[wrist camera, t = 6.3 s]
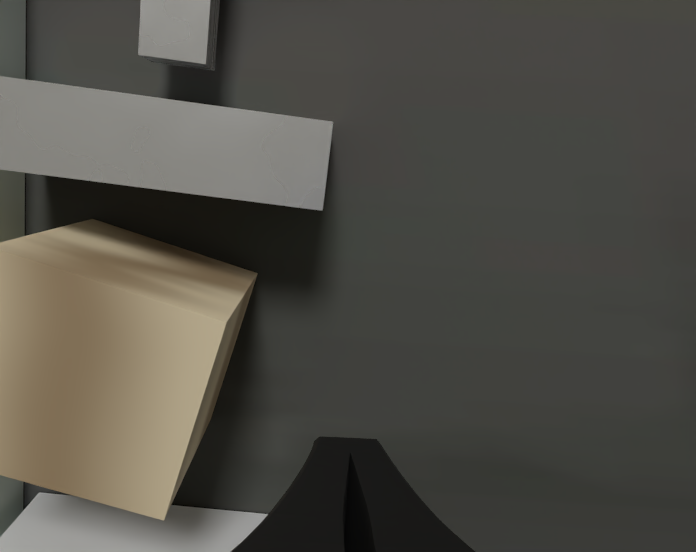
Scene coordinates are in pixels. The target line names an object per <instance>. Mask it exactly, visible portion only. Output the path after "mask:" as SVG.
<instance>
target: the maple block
mask: <svg viewBox="0 0 696 552" xmlns="http://www.w3.org/2000/svg"><path fill="white" fill-rule="evenodd" d="M257 274H258V273H255V272H252V271H249V270H246V269H243V268H240V267H237V266H234V265H231V264H228V263H225V262H222V261H219V260H216V259H213V258H210V257H207V256H204V255H201V254H198V253H195V252H192V251H189V250H186V249H183V248H180V247H176V246H173V245H170V244H167V243H164V242H161V241H158V240H155V239H152V238H149V237H146V236H143V235H140V234H137V233H134V232H131V231H128V230H125V229H122V228H119V227H116V226H113V225H110V224H107V223H104V222H101V221H98V220H95V219H90V220H86V221H82V222H78V223H74V224H70V225H66V226H62V227H59V228H55V229H51V230H47V231H43V232H39V233H35V234H31V235H27V236H23V237H20V238H16V239H12V240H8V241H4V242H0V475H2V476H5V477H9V478H12V479H16V480H20V481H23V482H27V483H30V484H34V485H38V486H41V487H45V488H48V489H52V490H55V491H59V492H63V493H66V494H70V495H73V496H77V497H81V498H84V499H88V500H91V501H95V502H99V503H102V504H106V505H109V506H113V507H116V508H120V509H124V510H127V511H131V512H134V513H138V514H142V515H145V516H149V517H152V518H156V519H160V520H163V521H164V519H165V517H166V515H167V513H168V511H169V509H170V506H171V504H172V502H173V500H174V498H175V496H176V493H177V491H178V489H179V487H180V485H181V483H182V480H183V478H184V476H185V474H186V472H187V470H188V467H189V465H190V463H191V461H192V459H193V457H194V454H195V452H196V450H197V448H198V446H199V444H200V441H201V439H202V437H203V435H204V433H205V431H206V428H207V426H208V424H209V422H210V420H211V417H212V414H213V411H214V408H215V405H216V401H217V398H218V395H219V392H220V389H221V386H222V383H223V380H224V377H225V374H226V370H227V367H228V364H229V361H230V358H231V355H232V352H233V349H234V346H235V343H236V339H237V336H238V333H239V330H240V327H241V324H242V321H243V318H244V315H245V311H246V308H247V305H248V302H249V299H250V296H251V293H252V290H253V287H254V284H255V280H256V277H257Z"/></svg>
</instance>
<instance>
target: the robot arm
mask: <svg viewBox="0 0 696 552" xmlns="http://www.w3.org/2000/svg"><path fill="white" fill-rule="evenodd" d="M231 552H475V551H474V550H473V549H471V548H470V547H469V546H468V545H467V544H466V543H464V542H463V541H462V540H461V539H460V538H459V537H458V536H456V535H455V534H454V533H453V532H452V531H451V530H450V529H449V528H448V527H447V526H445V525H444V524H443V523H442V522H441V521H440V520H439V519H438V518H437V517H436V515H435V514H434V513H433V512H432V511H431V510H430V509H429V508H428V507H427V506H426V505H425V503H424V502H423V501H422V500H421V499H420V498H419V496H418V495H417V494H416V493H415V491H414V490H413V489H412V488H411V486H410V485H409V484H408V483H407V481H406V480H405V479H404V477H403V476H402V475H401V473H400V472H399V471H398V469H397V468H396V466H395V465H394V464H393V462H392V461H391V459H390V458H389V456H388V455H387V453H386V452H385V450H384V449H383V447H382V446H381V444H380V443H379V442H378V441H377V439H361V438H340V437H319V438H318V439H316V440H315V441H314V445H313V447H312V450H311V452H310V454H309V456H308V458H307V460H306V462H305V464H304V465H303V467H302V469H301V470H300V472H299V473H298V475H297V477H296V478H295V480H294V481H293V483H292V484H291V486H290V487H289V489H288V490H287V491H286V493H285V494H284V495H283V496H282V498H281V499H280V500H279V502H278V503H277V504H276V505H275V507H274V508H273V509H272V511H271V512H270V513H269V514H268V515H267V516H266V517H265V519H264V520H263V521H262V522H261V523H260V524H259V525H258V526H257V527H256V528H255V529H254V530H253V531H252V532H251V533H250V534H249V535H248V536H247V537H246V538H245V539H244V540H243V541H242V542H241V543H240V544H239V545H238V546H236V547H235V548H234V549H233V550H232V551H231Z"/></svg>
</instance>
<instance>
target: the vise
mask: <svg viewBox="0 0 696 552" xmlns="http://www.w3.org/2000/svg"><path fill="white" fill-rule="evenodd" d="M25 67H26V0H0V76H4V77H11V78H18V79H25ZM23 236H25V173H24V172H16V171H8V170H0V242H4V241H8V240H12V239H16V238H20V237H23ZM267 515H268V514H261V513H250V512H240V511H229V510H219V509H208V508H198V507H187V506H177V505H171V506H170V509H169V511H168V513H167V515H166V517H165V519H164V521H163V520H160V519H156V518H152V517H149V516H145V515H142V514H138V513H134V512H131V511H127V510H124V509H120V508H116V507H113V506H109V505H106V504H102V503H99V502H95V501H91V500H88V499H84V498H81V497H77V496H71V495H61V494H50V493H40V492H39V493H38V494H37V496H36V497H35V498H34V499H33V500H32V501H31V503H30V504H29V505H28V506H27V507H26V508H25V509H24V511H23V481H20V480H16V479H12V478H9V477H5V476H2V475H0V552H231V551H232V550H233V549H234V548H235V547H236V546H238V545H239V544H240V543H241V542H242V541H243V540H244V539H245V538H246V537H247V536H248V535H249V534H250V533H251V532H252V531H253V530H254V529H255V528H256V527H257V526H258V525H259V524H260V523H261V522H262V521H263V520H264V519H265V517H266V516H267Z"/></svg>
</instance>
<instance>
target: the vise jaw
mask: <svg viewBox="0 0 696 552" xmlns="http://www.w3.org/2000/svg"><path fill="white" fill-rule="evenodd" d="M219 6H220V0H141V9H140V30H139V52H138V55H140V56H142V57H144V58H145V59H147V60H149V61H151V62H156V63H163V64H170V65H177V66H184V67H191V68H198V69H205V70H212V71H215V60H216V46H217V33H218V19H219ZM332 132H333V122H331V121H323V120H316V119H309V118H301V117H294V116H287V115H280V114H272V113H265V112H258V111H251V110H243V109H236V108H229V107H222V106H214V105H207V104H200V103H192V102H185V101H178V100H171V99H163V98H156V97H149V96H142V95H134V94H127V93H120V92H113V91H105V90H98V89H91V88H83V87H76V86H69V85H62V84H54V83H47V82H40V81H33V80H25V79H18V78H11V77H4V76H0V170H8V171H16V172H24V173H32V174H39V175H47V176H55V177H63V178H71V179H79V180H86V181H94V182H102V183H110V184H118V185H125V186H133V187H141V188H149V189H157V190H164V191H172V192H180V193H188V194H196V195H204V196H211V197H219V198H227V199H235V200H243V201H250V202H258V203H266V204H274V205H282V206H289V207H297V208H305V209H313V210H321V211H323V205H324V198H325V190H326V181H327V173H328V165H329V156H330V148H331V140H332Z"/></svg>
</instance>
